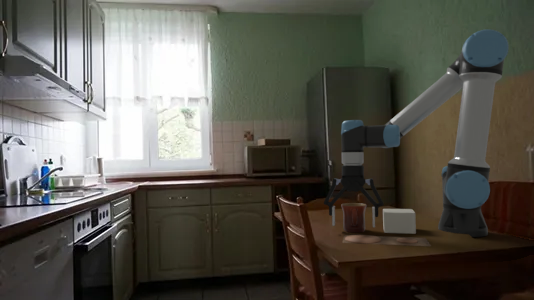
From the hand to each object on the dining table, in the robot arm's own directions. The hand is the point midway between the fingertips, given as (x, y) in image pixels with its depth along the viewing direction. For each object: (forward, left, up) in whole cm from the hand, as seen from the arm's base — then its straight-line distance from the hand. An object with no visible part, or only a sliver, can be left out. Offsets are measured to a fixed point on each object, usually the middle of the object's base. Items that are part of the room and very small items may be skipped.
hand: (353, 225), depth 129 cm
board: (-10, +13, -3) cm, 16 cm away
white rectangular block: (-15, -4, -3) cm, 16 cm away
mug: (0, 0, -3) cm, 3 cm away
